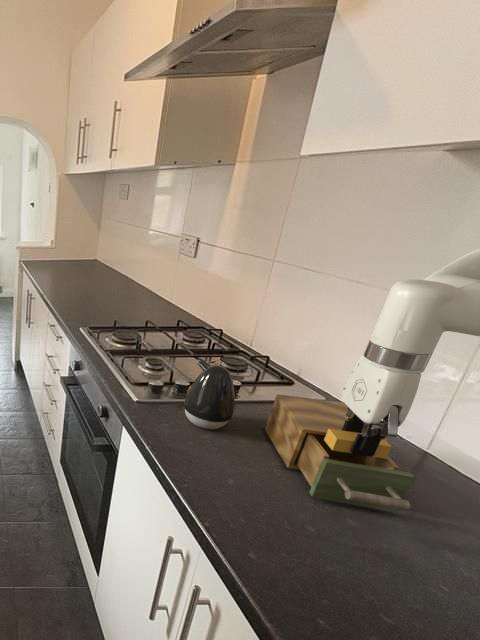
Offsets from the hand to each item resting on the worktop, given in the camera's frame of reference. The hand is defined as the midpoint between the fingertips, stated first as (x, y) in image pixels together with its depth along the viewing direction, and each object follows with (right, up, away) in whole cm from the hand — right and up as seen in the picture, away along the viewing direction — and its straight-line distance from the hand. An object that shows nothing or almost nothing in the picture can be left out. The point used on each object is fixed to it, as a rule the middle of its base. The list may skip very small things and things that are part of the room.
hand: (355, 446), depth 76 cm
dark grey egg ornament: (-14, 0, +24) cm, 28 cm away
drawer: (-1, -8, +2) cm, 9 cm away
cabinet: (+3, -5, +13) cm, 15 cm away
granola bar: (0, 0, 0) cm, 1 cm away
